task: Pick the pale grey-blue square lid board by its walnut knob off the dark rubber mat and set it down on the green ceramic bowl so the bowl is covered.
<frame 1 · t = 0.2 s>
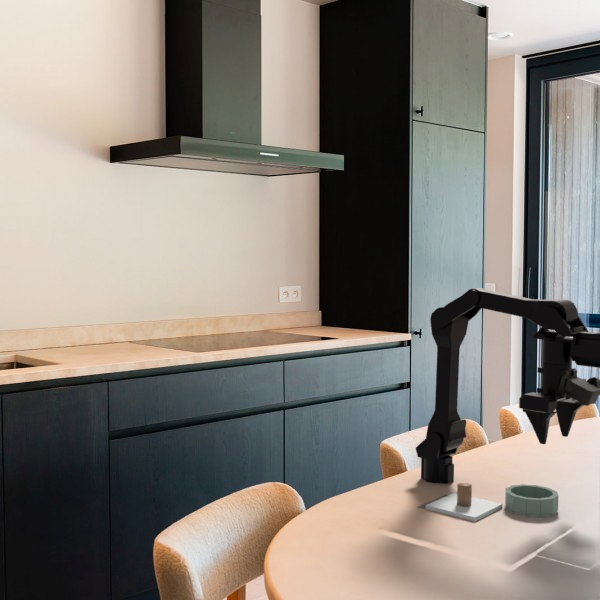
hand: (554, 440, 165), 14 cm above the table, fingers open, 9 cm apart
lid: (464, 508, 164), point 1 cm above the table, touching mat
bowl: (531, 511, 164), on the table
mat: (459, 510, 165), on the table
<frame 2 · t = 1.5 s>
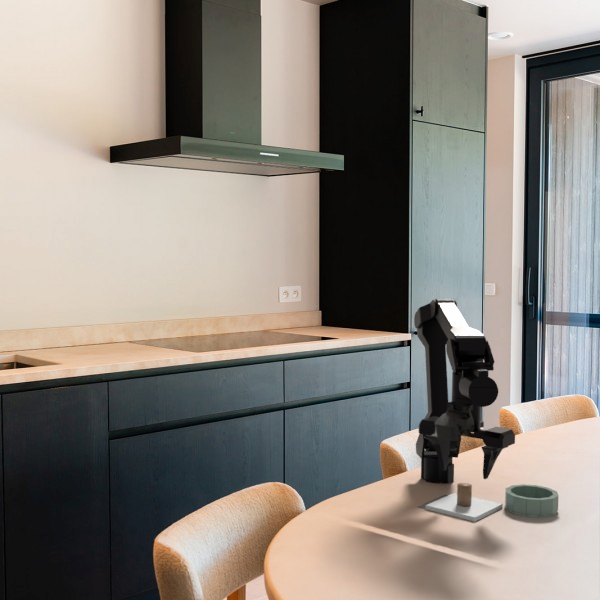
hand: (464, 474, 164), 8 cm above the table, fingers open, 9 cm apart
nothing on the table moved.
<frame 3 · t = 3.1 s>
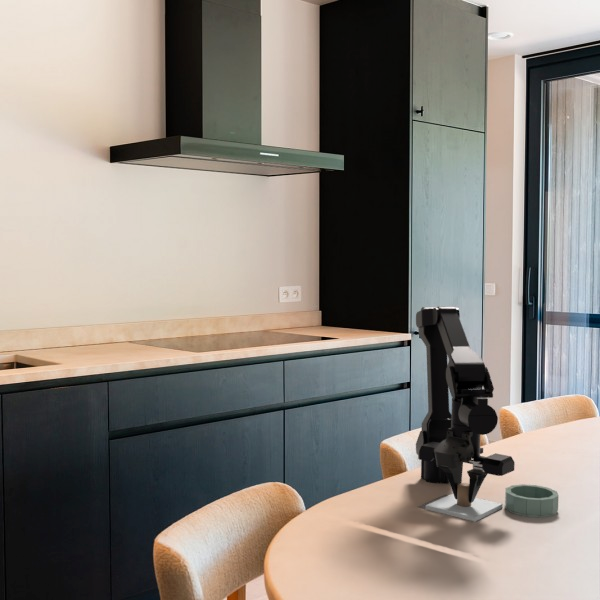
hand: (464, 500, 164), 2 cm above the table, fingers closed on lid, 3 cm apart
lid: (464, 508, 164), point 1 cm above the table, touching gripper, mat
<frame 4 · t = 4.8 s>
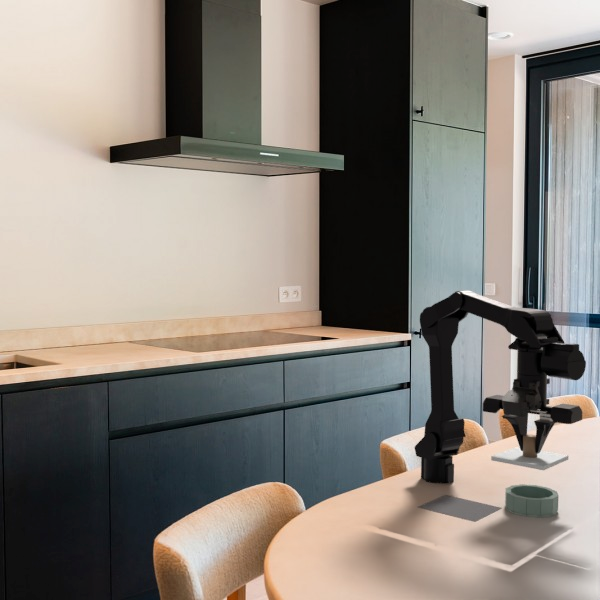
hand: (530, 451, 163), 12 cm above the table, fingers closed on lid, 3 cm apart
lid: (529, 459, 163), point 11 cm above the table, touching gripper
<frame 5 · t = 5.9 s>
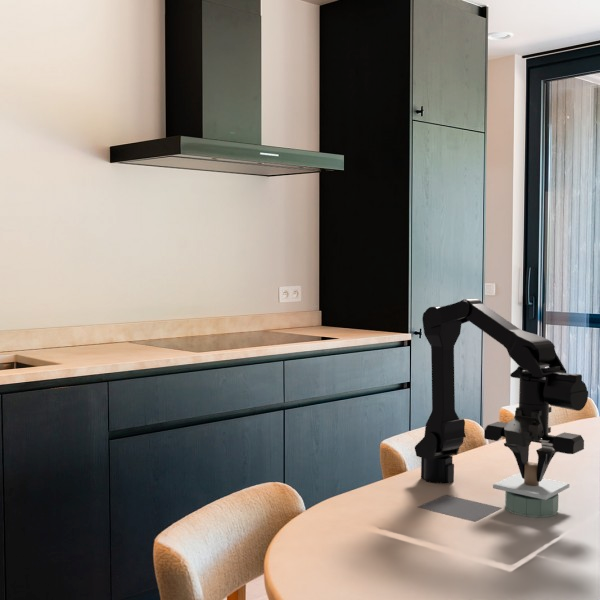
hand: (531, 479, 164), 6 cm above the table, fingers closed on lid, 3 cm apart
lid: (531, 487, 164), point 5 cm above the table, touching gripper
when the fingers open (6 cm above the table, at t = 6.4 s): lid stays where it is, resting on bowl.
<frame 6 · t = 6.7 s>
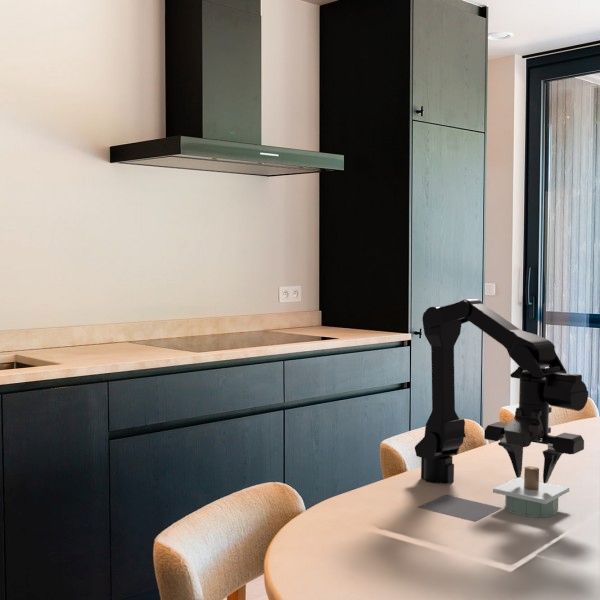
hand: (531, 480, 164), 6 cm above the table, fingers open, 5 cm apart
lid: (531, 491, 164), point 4 cm above the table, touching bowl
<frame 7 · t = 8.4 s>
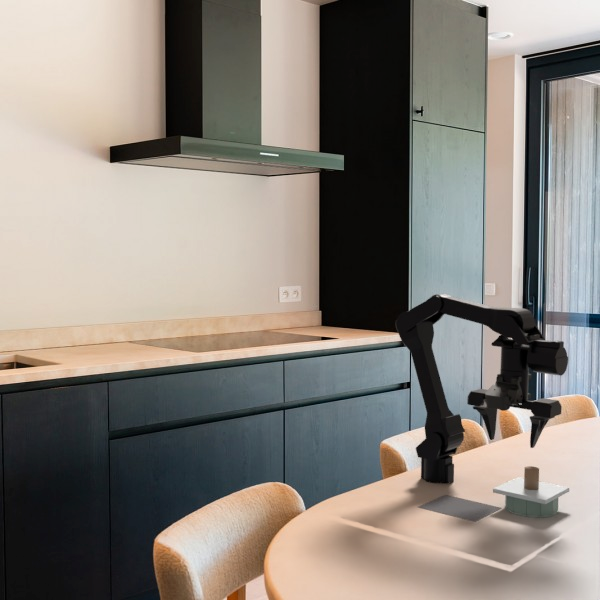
hand: (511, 443, 171), 12 cm above the table, fingers open, 9 cm apart
nothing on the table moved.
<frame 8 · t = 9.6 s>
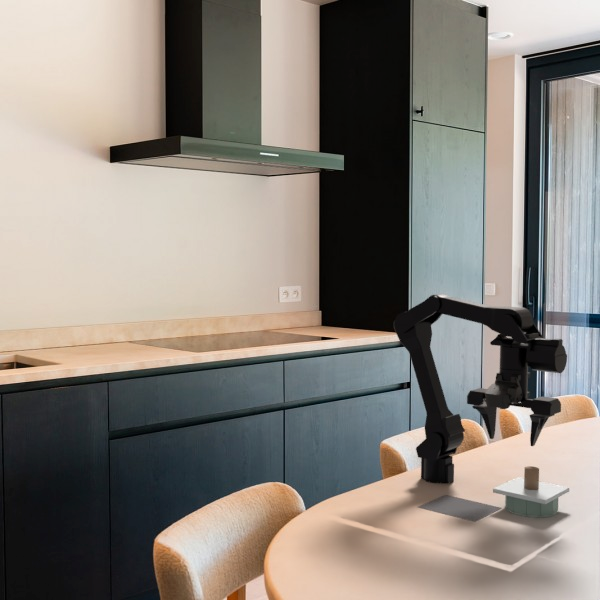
hand: (511, 442, 172), 12 cm above the table, fingers open, 9 cm apart
nothing on the table moved.
at the end: lid 0.1 cm off-centre on the bowl, point 4.0 cm above the bowl's base; lid tilted 0°; the gripper is holding nothing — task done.
